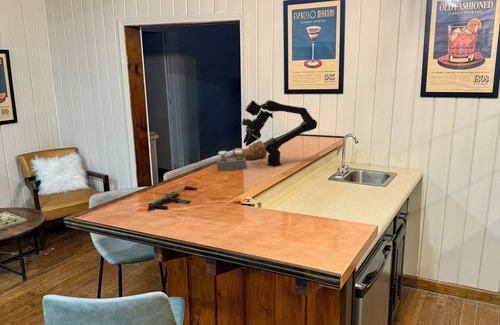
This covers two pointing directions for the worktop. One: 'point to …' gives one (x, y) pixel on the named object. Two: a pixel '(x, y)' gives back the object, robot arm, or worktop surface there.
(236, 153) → the knob
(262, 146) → the brown rough lump
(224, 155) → the knob
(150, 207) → the gun
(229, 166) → the knob mount
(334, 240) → the worktop surface
